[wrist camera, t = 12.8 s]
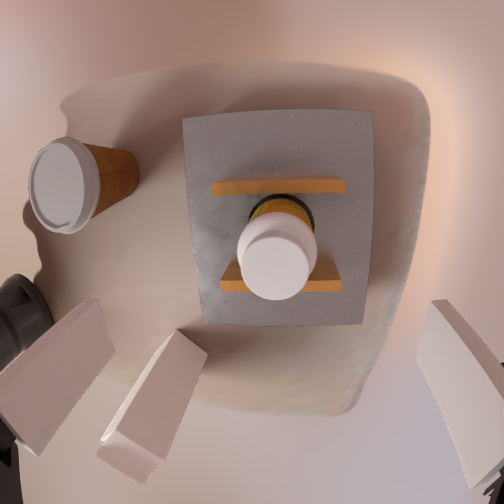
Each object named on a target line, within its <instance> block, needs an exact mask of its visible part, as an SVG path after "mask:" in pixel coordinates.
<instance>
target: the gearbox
mask: <svg viewBox="0 0 504 504" xmlns="http://www.w3.org/2000/svg"><path fill="white" fill-rule="evenodd" d="M182 126H183V144H184V159H185V172H186V184H187V195H188V206H189V216H190V225H191V234H192V243H193V251H194V259H195V267H196V275H197V282H198V289H199V296H200V303H201V309H202V316H203V322H204V323H210V324H231V325H267V326H315V325H350V324H362V321H363V315H364V308H365V301H366V293H367V285H368V276H369V267H370V256H371V243H372V228H373V206H374V145H373V124H372V112H371V111H358V110H339V109H277V110H257V111H243V112H232V113H222V114H213V115H205V116H198V117H191V118H184V119H182ZM272 199H288V200H291V201H293V202H295V203H297V204H298V205H300V206H301V207H302V208H303V209H304V210H305V212H306V213H307V215H308V217H309V220H310V223H311V226H312V230H313V233H314V236H315V240H316V244H317V259H316V263H315V266H314V268H313V270H312V272H311V273H310V275H309V277H308V280H307V282H306V284H305V285H304V287H303V288H302V289H301V290H300V291H299V292H298V293H297V294H295V295H294V296H292V297H290V298H287V299H283V300H269V299H265V298H262V297H260V296H258V295H256V294H255V293H253V292H252V291H251V290H250V289H249V288H248V287H247V285H246V284H245V282H244V280H243V278H242V274H241V267H240V265H239V262H238V257H237V246H238V241H239V238H240V236H241V234H242V232H243V230H244V229H245V227H246V225H247V224H248V222H249V220H250V219H251V217H252V215H253V214H254V212H255V211H256V210H257V208H258V207H259V206H261V205H262V204H263V203H265V202H267V201H269V200H272Z"/></svg>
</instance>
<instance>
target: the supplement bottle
mask: <svg viewBox="0 0 504 504" xmlns="http://www.w3.org/2000/svg"><path fill="white" fill-rule="evenodd" d="M237 257H238V262H239V265H240V267H241V274H242V278H243V280H244V282H245V284H246V285H247V287H248V288H249V289H250V290H251V291H252V292H253V293H255V294H256V295H258V296H260V297H262V298H265V299H269V300H283V299H287V298H290V297H292V296H294V295H295V294H297V293H298V292H299V291H300V290H301V289H302V288H303V287H304V285H305V284H306V282H307V280H308V277H309V275H310V273H311V272H312V270H313V268H314V266H315V263H316V259H317V244H316V240H315V236H314V233H313V230H312V226H311V223H310V220H309V217H308V215H307V213H306V212H305V210H304V209H303V208H302V207H301V206H300V205H298V204H297V203H295V202H293V201H291V200H288V199H272V200H269V201H267V202H265V203H263V204H262V205H261V206H259V207H258V208H257V210H256V211H255V212H254V214H253V215H252V217H251V219H250V220H249V222H248V224H247V225H246V227H245V229H244V230H243V232H242V234H241V236H240V238H239V241H238V246H237Z"/></svg>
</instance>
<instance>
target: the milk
mask: <svg viewBox="0 0 504 504" xmlns="http://www.w3.org/2000/svg"><path fill="white" fill-rule="evenodd" d="M207 356H208V354H207V353H206V352H205V351H204V350H202V349H201V348H200V347H198V346H197V345H196V344H194V343H193V342H192V341H191V340H189V339H188V338H187V337H186V336H184V335H183V334H182V333H181V332H179V331H178V330H177V329H176V330H175V331H174V332H173V333H172V334H171V335H170V336H169V337H168V338H167V339H166V340H165V342H164V343H163V344H162V345H161V346H160V347H159V348H158V349H157V350H156V352H155V353H154V355H153V356H152V358H151V359H150V361H149V363H148V364H147V366H146V367H145V369H144V370H143V372H142V373H141V375H140V377H139V378H138V380H137V381H136V383H135V384H134V386H133V388H132V389H131V391H130V392H129V394H128V396H127V397H126V399H125V400H124V402H123V404H122V405H121V407H120V408H119V410H118V412H117V413H116V415H115V416H114V418H113V420H112V421H111V423H110V425H109V426H108V428H107V429H106V431H105V433H104V434H103V436H102V438H101V439H100V448H99V449H98V451H97V453H96V457H97V458H98V459H99V460H100V461H102V462H103V463H105V464H107V465H108V466H110V467H111V468H113V469H115V470H116V471H118V472H119V473H121V474H123V475H124V476H126V477H128V478H129V479H131V480H133V481H135V482H136V483H138V484H140V485H144V484H145V483H146V481H147V479H148V476H149V475H150V474H151V473H152V472H154V470H155V469H157V468H158V467H159V466H160V465H161V464H162V463H163V462H164V461H165V459H166V457H167V454H168V452H169V449H170V447H171V444H172V442H173V440H174V437H175V435H176V432H177V430H178V427H179V424H180V423H181V420H182V418H183V415H184V412H185V410H186V408H187V405H188V403H189V400H190V398H191V396H192V393H193V391H194V388H195V386H196V383H197V381H198V378H199V376H200V374H201V371H202V369H203V366H204V364H205V361H206V359H207Z"/></svg>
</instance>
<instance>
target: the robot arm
mask: <svg viewBox="0 0 504 504" xmlns="http://www.w3.org/2000/svg"><path fill="white" fill-rule="evenodd" d="M24 350H26V351H24ZM22 351H24V352H23V353H22V354H21V355H20V356H19V357H18V358H17V359H16V360H15V361H14V362H13V363H12V364H11V365H10V366H9V367H8V368H7V369H6V370H5V371H4V372H3V373H2V374H1V375H0V504H23V500H22V492H21V483H20V472H19V457H18V447H17V444H16V443H15V442H14V441H15V440H16V438H17V439H18V440H19V441H20V443H21V444H22V445H23V446H24V447H25V448H26V449H27V450H29V451H30V452H32V453H33V454H35V455H36V456H38V457H39V456H40V454H41V453H42V451H43V450H44V448H45V447H46V445H47V444H48V442H49V441H50V440H51V438H52V437H53V435H54V434H55V432H56V431H57V429H58V428H59V427H60V425H61V424H62V423H63V421H64V420H65V418H66V417H67V415H68V414H69V413H70V411H71V410H72V408H73V407H74V406H75V405H76V403H77V402H78V400H79V399H80V398H81V396H82V395H83V394H84V392H85V391H86V390H87V388H88V387H89V386H90V384H91V383H92V382H93V380H94V379H95V378H96V377H97V375H98V374H99V373H100V371H101V370H102V369H103V367H104V366H105V365H106V364H107V362H108V361H109V360H110V358H111V357H112V356H113V355H114V353H115V350H114V347H113V344H112V341H111V338H110V336H109V333H108V330H107V327H106V324H105V321H104V318H103V314H102V311H101V308H100V304H99V301H98V300H96V299H86V298H85V299H84V300H83V301H82V302H80V303H79V304H78V305H77V306H76V307H74V308H73V309H72V310H71V311H70V312H68V313H67V314H66V315H65V316H64V317H63V318H61V319H60V320H59V321H58V322H57V323H56V324H54V325H53V321H52V317H51V314H50V311H49V309H48V306H47V304H46V302H45V300H44V299H43V297H42V295H41V294H40V292H39V291H38V289H37V288H36V287H35V285H34V284H33V283H32V282H31V281H30V280H29V279H28V278H26V277H25V276H23V275H21V274H14V275H13V276H11V277H9V278H8V279H6V280H5V282H4V283H3V284H2V286H1V287H0V372H1V371H2V370H3V369H4V368H5V367H6V366H7V365H8V364H9V363H10V362H11V361H13V360H14V358H16V357H17V356H18V355H19V354H20V353H21V352H22ZM415 360H416V362H417V364H418V366H419V368H420V370H421V372H422V374H423V376H424V378H425V380H426V382H427V384H428V386H429V388H430V391H431V393H432V395H433V397H434V399H435V401H436V404H437V406H438V408H439V410H440V413H441V415H442V417H443V419H444V422H445V424H446V427H447V429H448V431H449V434H450V436H451V439H452V441H453V444H454V446H455V449H456V451H457V454H458V457H459V460H460V462H461V465H462V468H463V471H464V474H465V477H466V480H467V483H468V486H469V489H472V488H475V487H477V486H479V485H481V484H483V483H485V482H487V481H489V480H490V479H491V478H492V477H493V476H494V475H495V474H496V473H497V472H498V471H500V474H501V476H500V477H499V478H498V479H497V480H496V481H495V482H494V483H492V484H491V485H490V486H489V487H488V488H487V489H486V490H485V492H484V494H483V495H486V494H487V493H489V492H490V491H491V490H492V489H493V488H494V490H493V492H492V493H491V494H490V495H489V496H491V499H490V501H489V504H504V363H500V362H499V361H498V360H497V358H496V357H495V356H494V355H493V354H492V352H491V351H490V349H489V348H488V347H487V346H486V344H485V343H484V342H483V341H482V339H481V338H480V337H479V336H478V335H477V333H476V332H475V331H474V330H473V329H472V328H471V326H470V325H469V324H468V323H467V322H466V321H465V320H464V318H463V317H462V316H461V315H460V314H459V313H458V312H457V310H456V309H455V308H454V307H453V306H452V305H451V304H450V303H449V302H448V301H447V300H446V299H445V300H435V301H431V302H430V306H429V310H428V314H427V318H426V322H425V325H424V329H423V333H422V336H421V339H420V343H419V346H418V349H417V352H416V355H415Z"/></svg>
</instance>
